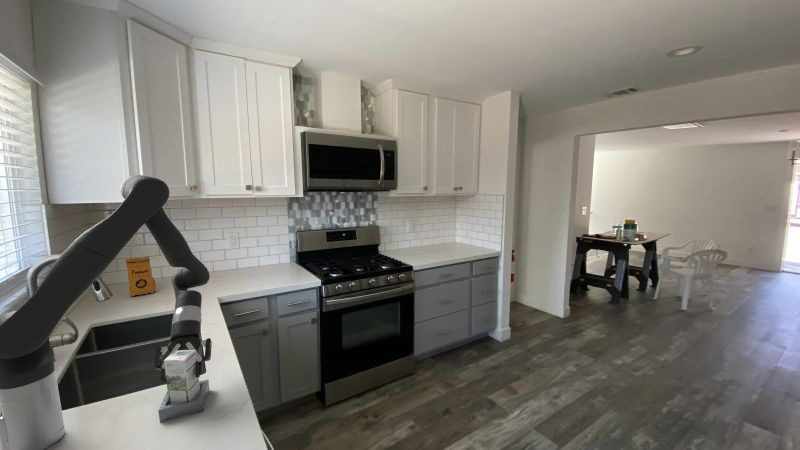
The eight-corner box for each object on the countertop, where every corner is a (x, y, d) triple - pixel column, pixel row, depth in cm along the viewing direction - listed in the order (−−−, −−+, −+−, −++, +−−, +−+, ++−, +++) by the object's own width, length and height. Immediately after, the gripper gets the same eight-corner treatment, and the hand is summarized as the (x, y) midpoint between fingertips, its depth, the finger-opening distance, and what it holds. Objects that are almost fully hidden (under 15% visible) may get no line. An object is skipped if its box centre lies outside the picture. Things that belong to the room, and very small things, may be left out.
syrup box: (201, 394, 96) (197, 348, 94) (189, 408, 90) (184, 359, 88) (181, 395, 95) (176, 348, 94) (168, 409, 90) (162, 360, 88)
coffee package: (155, 294, 189) (151, 257, 186) (128, 298, 182) (123, 260, 180) (157, 289, 197) (153, 254, 195) (131, 293, 191) (126, 257, 188)
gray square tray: (159, 422, 86) (158, 410, 86) (170, 399, 95) (168, 388, 95) (203, 411, 90) (202, 399, 89) (209, 390, 99) (208, 379, 99)
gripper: (154, 323, 94) (146, 383, 85) (211, 315, 99) (208, 370, 90) (162, 332, 99) (154, 390, 90) (215, 324, 105) (213, 377, 96)
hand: (181, 380), depth 90 cm, fingers closed on syrup box, 7 cm apart
